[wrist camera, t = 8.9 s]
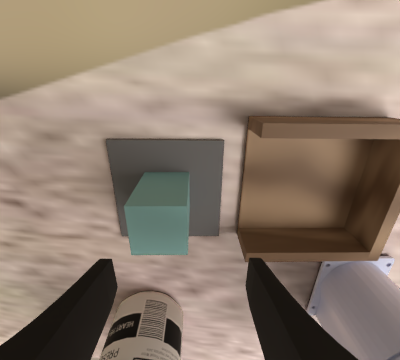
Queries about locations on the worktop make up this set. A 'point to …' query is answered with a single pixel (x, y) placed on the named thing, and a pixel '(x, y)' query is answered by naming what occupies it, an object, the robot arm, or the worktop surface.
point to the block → (159, 214)
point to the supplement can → (145, 329)
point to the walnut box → (319, 188)
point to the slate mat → (171, 162)
